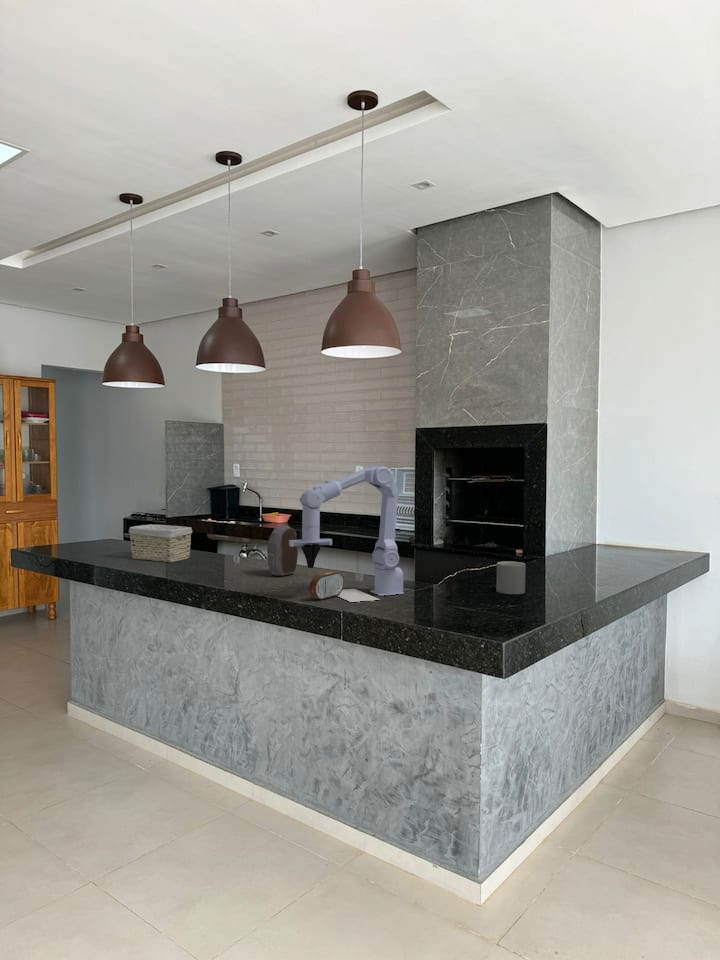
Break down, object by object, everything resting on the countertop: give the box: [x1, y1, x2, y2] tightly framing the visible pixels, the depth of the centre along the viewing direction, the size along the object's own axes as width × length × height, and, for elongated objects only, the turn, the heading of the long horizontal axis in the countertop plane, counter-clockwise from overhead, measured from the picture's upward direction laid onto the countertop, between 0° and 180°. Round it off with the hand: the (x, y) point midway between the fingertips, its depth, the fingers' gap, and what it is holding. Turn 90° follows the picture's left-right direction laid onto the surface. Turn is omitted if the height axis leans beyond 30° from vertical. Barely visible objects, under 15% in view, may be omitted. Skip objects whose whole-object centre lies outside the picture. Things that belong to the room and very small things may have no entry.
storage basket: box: [128, 523, 193, 563], centre depth 317 cm, size 24×16×15 cm
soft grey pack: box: [266, 524, 299, 577], centre depth 279 cm, size 15×8×20 cm, turn 150°
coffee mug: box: [495, 560, 526, 595], centre depth 252 cm, size 13×10×10 cm
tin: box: [308, 570, 345, 600], centre depth 234 cm, size 15×3×8 cm, turn 141°
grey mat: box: [336, 588, 381, 603], centre depth 238 cm, size 10×20×1 cm, turn 25°
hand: (310, 567), depth 232 cm, fingers closed
